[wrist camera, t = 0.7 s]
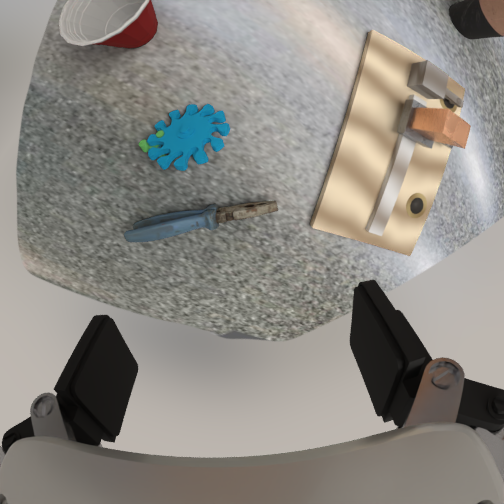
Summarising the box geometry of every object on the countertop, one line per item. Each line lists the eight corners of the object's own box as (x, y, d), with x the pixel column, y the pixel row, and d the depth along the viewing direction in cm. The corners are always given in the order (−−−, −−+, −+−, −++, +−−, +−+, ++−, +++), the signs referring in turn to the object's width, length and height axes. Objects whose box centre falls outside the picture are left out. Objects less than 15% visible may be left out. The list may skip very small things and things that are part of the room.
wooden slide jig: (368, 32, 27) (385, 22, 22) (459, 89, 29) (481, 89, 24) (309, 223, 39) (319, 239, 34) (405, 252, 42) (422, 268, 37)
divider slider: (402, 99, 29) (447, 98, 20) (449, 128, 31) (494, 137, 22) (393, 131, 31) (437, 139, 22) (440, 158, 33) (485, 173, 24)
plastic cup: (188, 0, 24) (168, -41, 14) (162, 67, 29) (128, 46, 18) (118, -2, 23) (81, -33, 12) (94, 61, 27) (44, 48, 16)
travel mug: (445, 22, 24) (531, 4, 6) (449, -4, 21) (525, -26, 3) (475, 48, 25) (559, 45, 7) (478, 21, 22) (555, 13, 4)
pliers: (273, 191, 37) (278, 203, 32) (275, 206, 38) (280, 221, 33) (134, 217, 38) (118, 233, 33) (138, 231, 39) (123, 248, 33)
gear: (230, 95, 30) (223, 158, 27) (238, 127, 35) (234, 188, 32) (147, 109, 31) (127, 170, 28) (163, 137, 37) (149, 196, 34)
